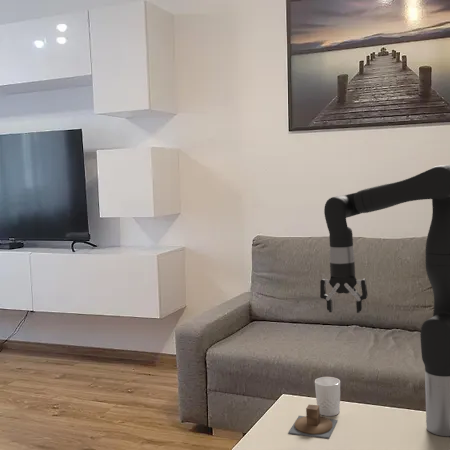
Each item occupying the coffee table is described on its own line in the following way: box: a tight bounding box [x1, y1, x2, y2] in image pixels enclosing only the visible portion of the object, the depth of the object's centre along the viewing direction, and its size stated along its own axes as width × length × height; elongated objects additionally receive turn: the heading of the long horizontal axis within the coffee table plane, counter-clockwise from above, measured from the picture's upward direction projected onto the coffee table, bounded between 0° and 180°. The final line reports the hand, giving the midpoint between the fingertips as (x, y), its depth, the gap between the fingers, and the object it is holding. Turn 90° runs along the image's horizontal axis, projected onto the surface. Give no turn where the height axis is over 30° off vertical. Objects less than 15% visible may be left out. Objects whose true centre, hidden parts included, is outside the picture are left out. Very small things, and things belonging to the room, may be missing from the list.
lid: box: [294, 404, 332, 434], centre depth 173 cm, size 11×11×6 cm
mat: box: [287, 415, 339, 439], centre depth 173 cm, size 12×12×1 cm
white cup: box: [314, 376, 341, 417], centre depth 183 cm, size 8×8×10 cm
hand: (344, 312), depth 182 cm, fingers open, 8 cm apart
